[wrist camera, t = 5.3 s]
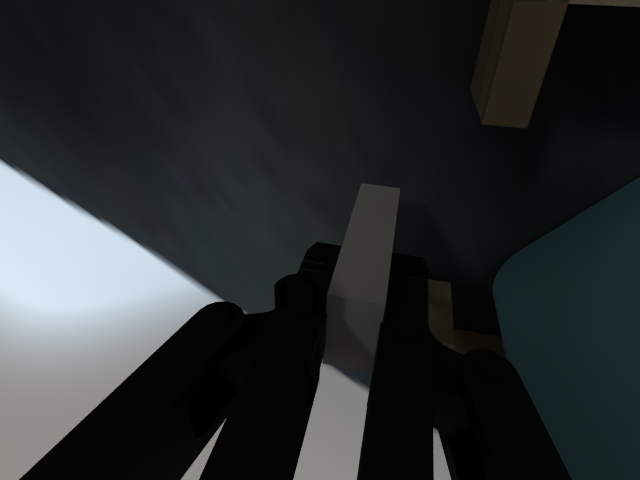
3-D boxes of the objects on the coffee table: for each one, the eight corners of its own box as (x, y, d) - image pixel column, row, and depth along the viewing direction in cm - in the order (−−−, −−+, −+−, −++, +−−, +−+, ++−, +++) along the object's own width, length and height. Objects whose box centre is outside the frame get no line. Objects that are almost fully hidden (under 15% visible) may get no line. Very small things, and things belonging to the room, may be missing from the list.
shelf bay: (411, 336, 22) (408, 400, 19) (503, -54, 12) (531, -62, 9) (631, 377, 20) (669, 454, 17) (948, -42, 10) (1183, -46, 7)
